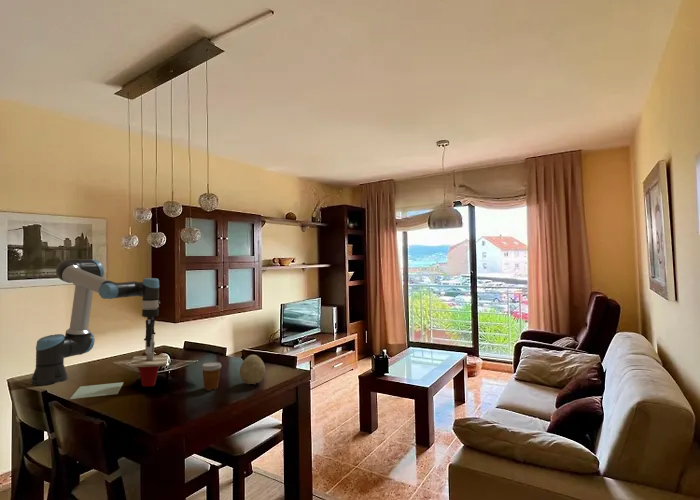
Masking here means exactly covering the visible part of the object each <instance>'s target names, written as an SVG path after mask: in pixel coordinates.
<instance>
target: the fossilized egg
mask: <svg viewBox="0 0 700 500" xmlns="http://www.w3.org/2000/svg"><path fill="white" fill-rule="evenodd" d="M265 374H266V366H265V363H264V361H263V360H262V358H261V357H260V356H259V355H257V354H249V355H247V357H245V358H244V359H243V361H242V363H241V365H240V368H239V375H240V378H241V380H242V382H243V383H245V384H247V385H249V384H254V385H257V384H259V383H260V382H262V380H263V379H264V377H265ZM256 383H257V384H256Z"/></svg>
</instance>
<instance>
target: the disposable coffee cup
mask: <svg viewBox="0 0 700 500" xmlns="http://www.w3.org/2000/svg"><path fill="white" fill-rule="evenodd" d="M222 366H223V365H222V363H221V362H218V361H210V362H206V363H203V364H202V366H201V370H202V377H203V387H204V390H205V389H206V390H205V391H213V390H212V389H215V390H217V389H218V388H219V383H220V375H221V369H222ZM216 388H217V389H216Z"/></svg>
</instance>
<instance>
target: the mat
mask: <svg viewBox="0 0 700 500" xmlns="http://www.w3.org/2000/svg"><path fill="white" fill-rule="evenodd" d="M123 385H124V381H123V382H122V381H121V382H113V383H103V384H91V385H83V386H82V385H81V386H79V387H78V388H77V390H76V391H75V392H73V394H72V396H71V397H70V398H69V400H74V399H75V400H76V399H82V398H83V399H84V398H85V399H86V398H93V397H101V396H111V395H118V394H119V392H120V390H121V388H122V387H123Z"/></svg>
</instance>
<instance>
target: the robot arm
mask: <svg viewBox="0 0 700 500" xmlns="http://www.w3.org/2000/svg"><path fill="white" fill-rule="evenodd" d="M55 274H56V277H57V278H58V279H59V280H61V281H63V282H65V283H67V284H73V285H74V294H73V301H72V308H71V314H70V315H71V317H70V323H69V328H68V329H66V330H65V335H64V334H63V333H58V334H57V333H56V334H50V335H49V334H48V335H45V336H42V337H41V338H39V339H37V341H36V345H35V370H34V372H33V374H32V376H31V380H30V384H31V383H32V384H36V385H35V386H46V385H45V384H48V385H53V384H56V383H59V382H64V381H66V380H68V372H67V370H66V367H65V364H64V363H65V362H64V359H66V358H69V357H74V356H80V355H83V354H86V353H88V352H90V351H91V350H92V349H93V348H94V345H95V343H96V341H95V339H96V338H94V337H95V336H94V334H93V333H92V331H91V329H90V328H89V325H90V323H89V322H90V318H91V317H90V316H91V310H92V301H93V294H94V292H95V293H98V296H99V297H100V298H101V299H102V300H103V299H104V300H108V299H109V300H112V299H121V298H122V299H123V298H132V297H142V299H141V301H142V302H141V308H142V310H141V312H142V313H141V316H142V317H144V318H146V320H145V338H144V339H143V341H145V346H144V347H145V349H144V351H145V355H147V353H152V342H155V335H156V332H155V324H156V323H155V322H156V320H155V317H159V315H160V314H159V312H160V311H159V310H160V309H159V308H160V305H159V304H161V301H160V280H159V278H155V277H149V278H148V277H145V278H143V280H142V281H125V282H114V281H112V280H110V279H107V278H104V275H105V268H104V265H103V264H102V262H101V261H100V260H97V259H91V258H86V259H85V258H82V259H81V258H80V259H79V258H78V259H77V258H75V259H74V258H72V259H71V258H70V259H69V258H68V259H66V260H62V261H61V262H60V263H58V264H57V266H56V268H55ZM32 384H31V385H32Z"/></svg>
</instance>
